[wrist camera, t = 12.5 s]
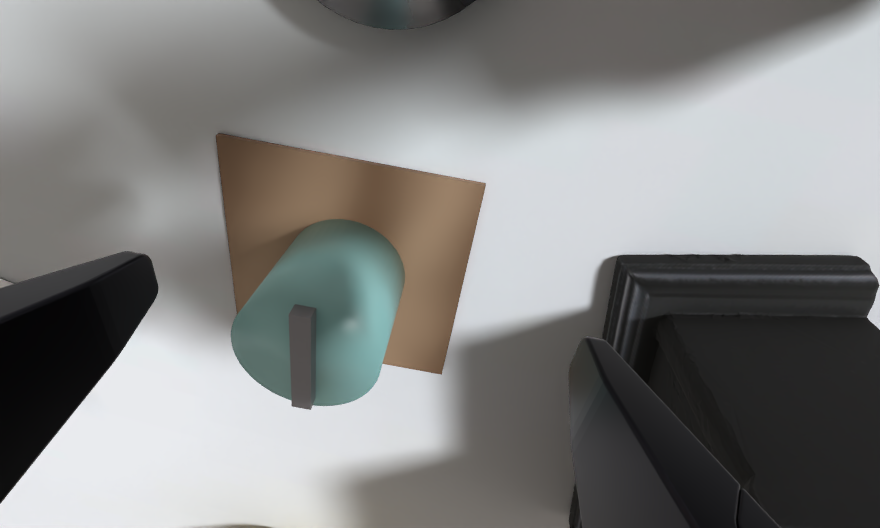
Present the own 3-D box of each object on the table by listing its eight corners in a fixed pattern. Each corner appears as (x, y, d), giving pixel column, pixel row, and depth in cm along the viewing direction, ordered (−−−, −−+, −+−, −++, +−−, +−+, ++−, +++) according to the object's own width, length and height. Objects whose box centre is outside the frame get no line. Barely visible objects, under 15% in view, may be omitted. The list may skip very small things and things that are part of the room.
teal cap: (398, 326, 24) (371, 428, 18) (290, 306, 24) (231, 402, 18) (411, 231, 21) (384, 321, 15) (287, 208, 21) (214, 289, 15)
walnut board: (485, 183, 19) (485, 185, 19) (441, 370, 26) (441, 374, 26) (219, 133, 19) (215, 135, 19) (242, 334, 26) (239, 337, 26)
